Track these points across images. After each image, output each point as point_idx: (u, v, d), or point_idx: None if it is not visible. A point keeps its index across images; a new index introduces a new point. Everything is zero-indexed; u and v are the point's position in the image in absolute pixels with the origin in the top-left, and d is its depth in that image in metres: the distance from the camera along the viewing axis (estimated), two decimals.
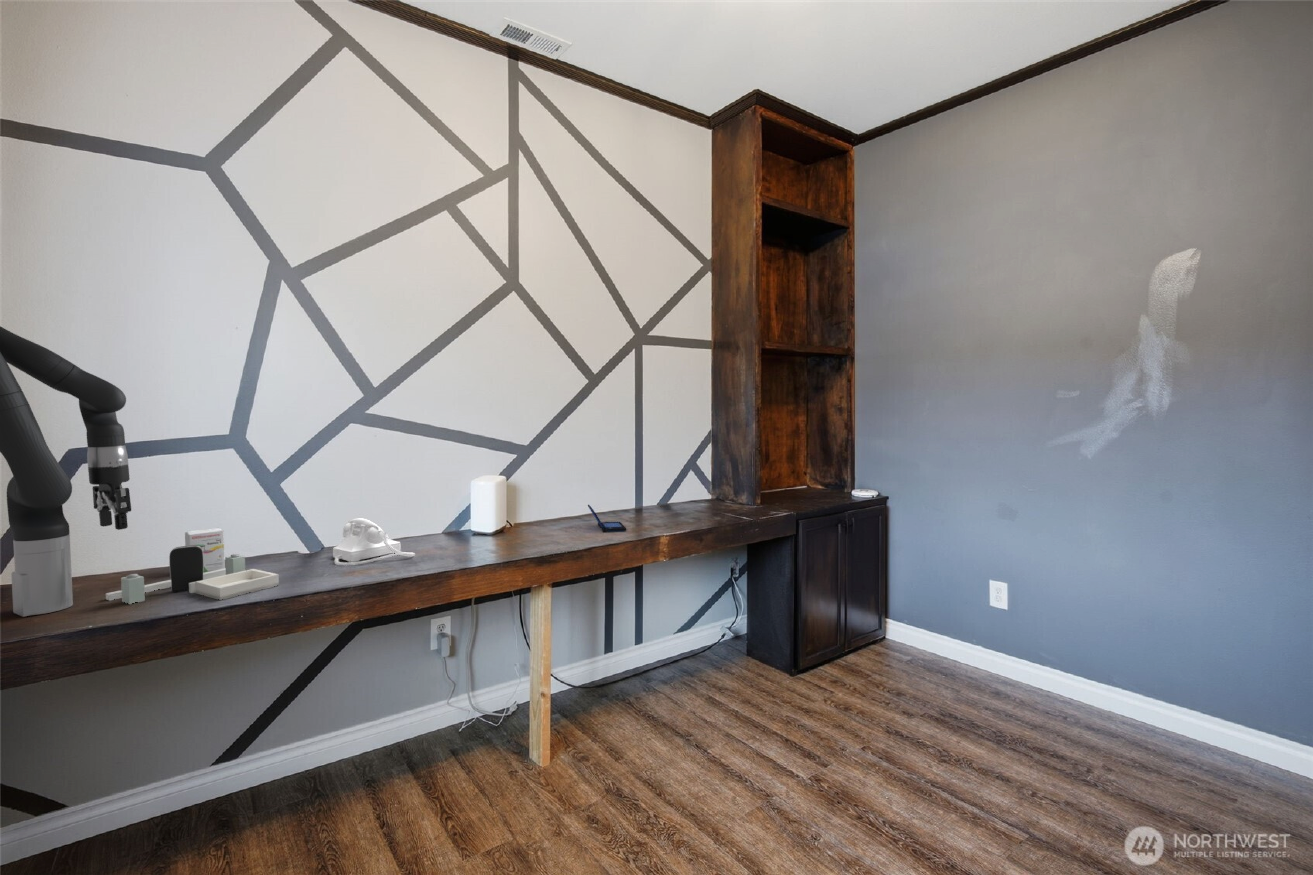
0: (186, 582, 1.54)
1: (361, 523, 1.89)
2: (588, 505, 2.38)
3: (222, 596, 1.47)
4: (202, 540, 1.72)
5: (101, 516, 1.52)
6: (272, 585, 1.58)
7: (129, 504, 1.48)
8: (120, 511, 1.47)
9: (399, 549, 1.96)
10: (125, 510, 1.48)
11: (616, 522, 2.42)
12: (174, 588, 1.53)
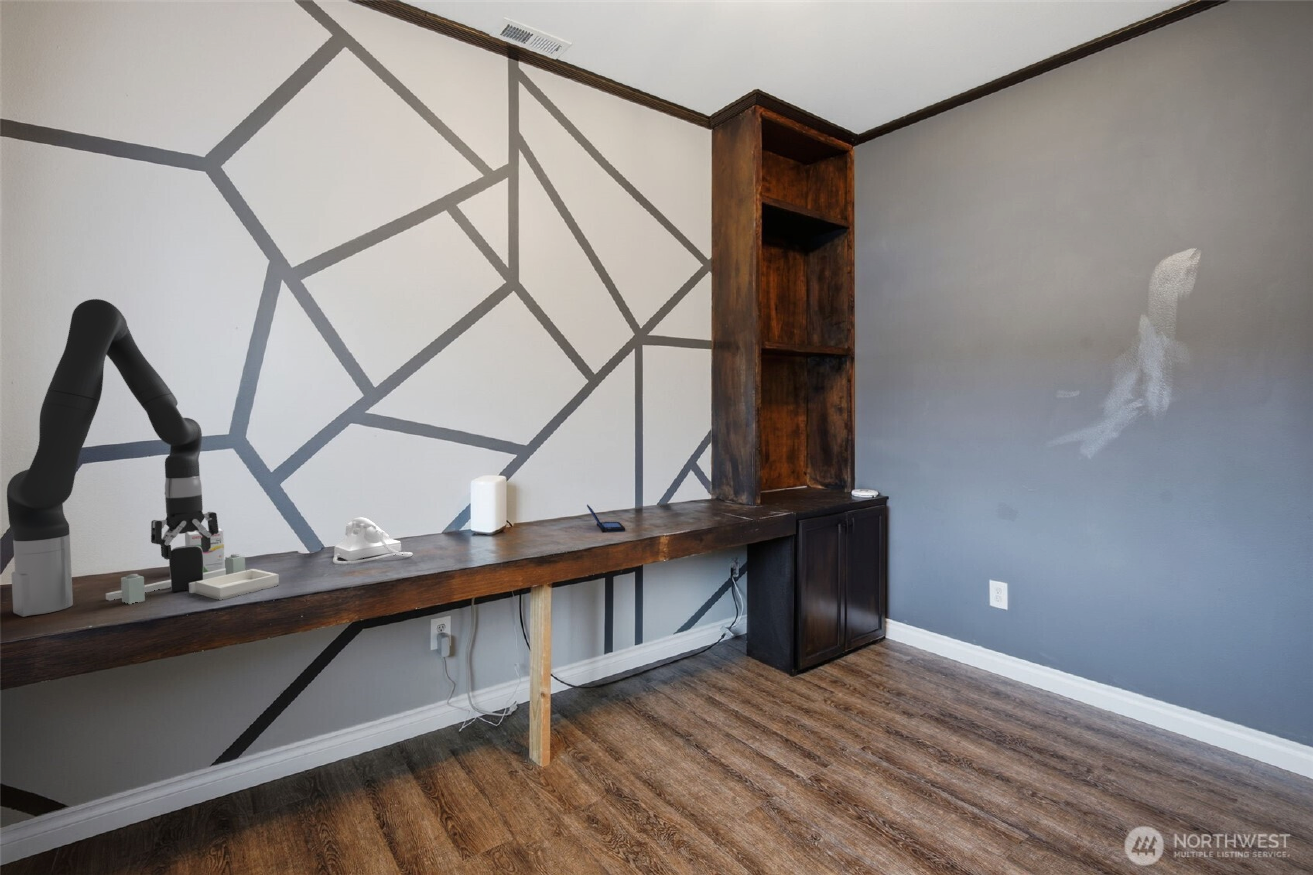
0: (186, 582, 1.54)
1: (361, 522, 1.91)
2: (587, 505, 2.38)
3: (222, 596, 1.47)
4: None
5: None
6: (272, 585, 1.58)
7: None
8: None
9: (399, 549, 1.96)
10: None
11: (615, 522, 2.42)
12: (174, 588, 1.53)
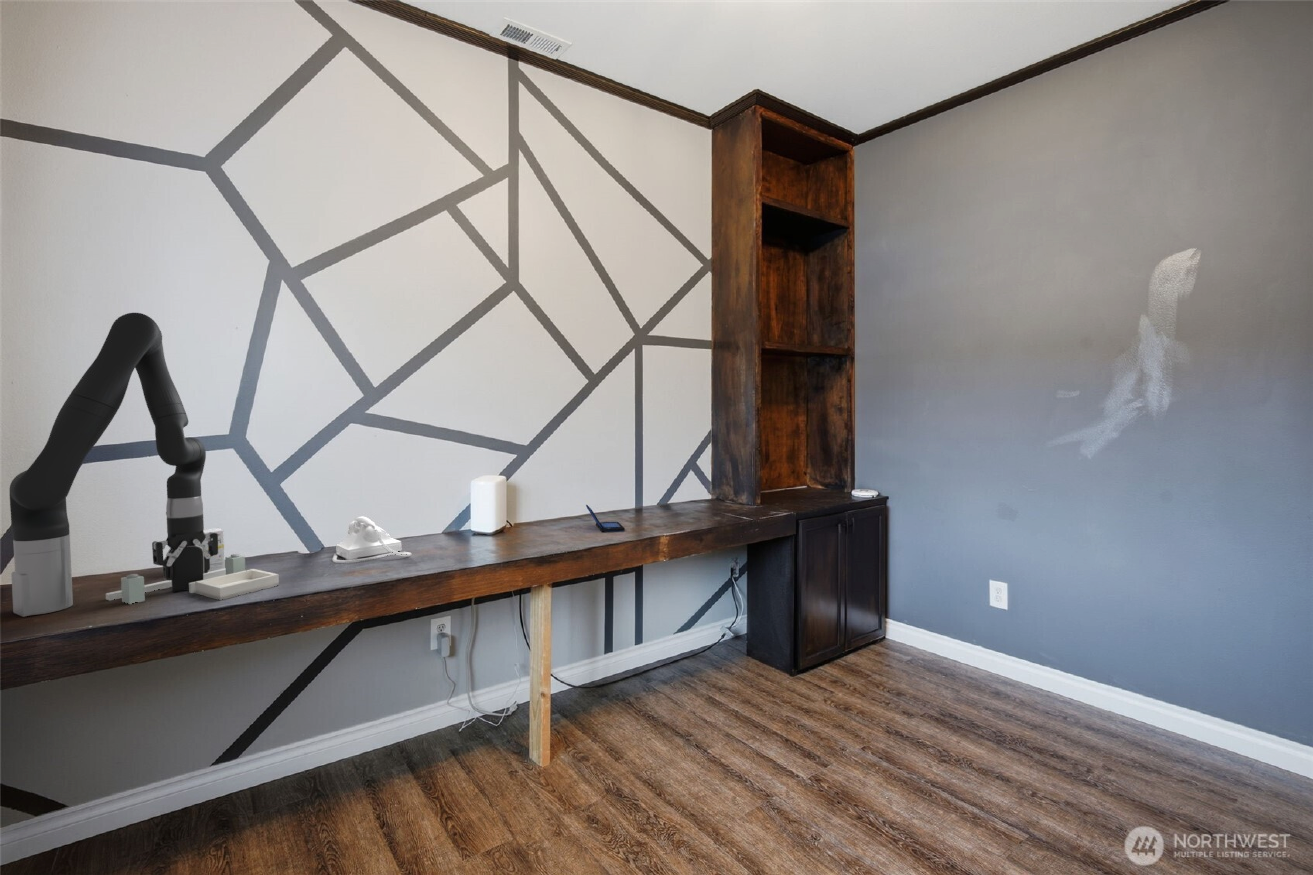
0: (186, 582, 1.54)
1: (361, 521, 1.92)
2: (586, 505, 2.38)
3: (222, 596, 1.47)
4: None
5: None
6: (272, 585, 1.58)
7: None
8: None
9: (399, 548, 1.97)
10: None
11: (614, 522, 2.42)
12: (174, 588, 1.53)
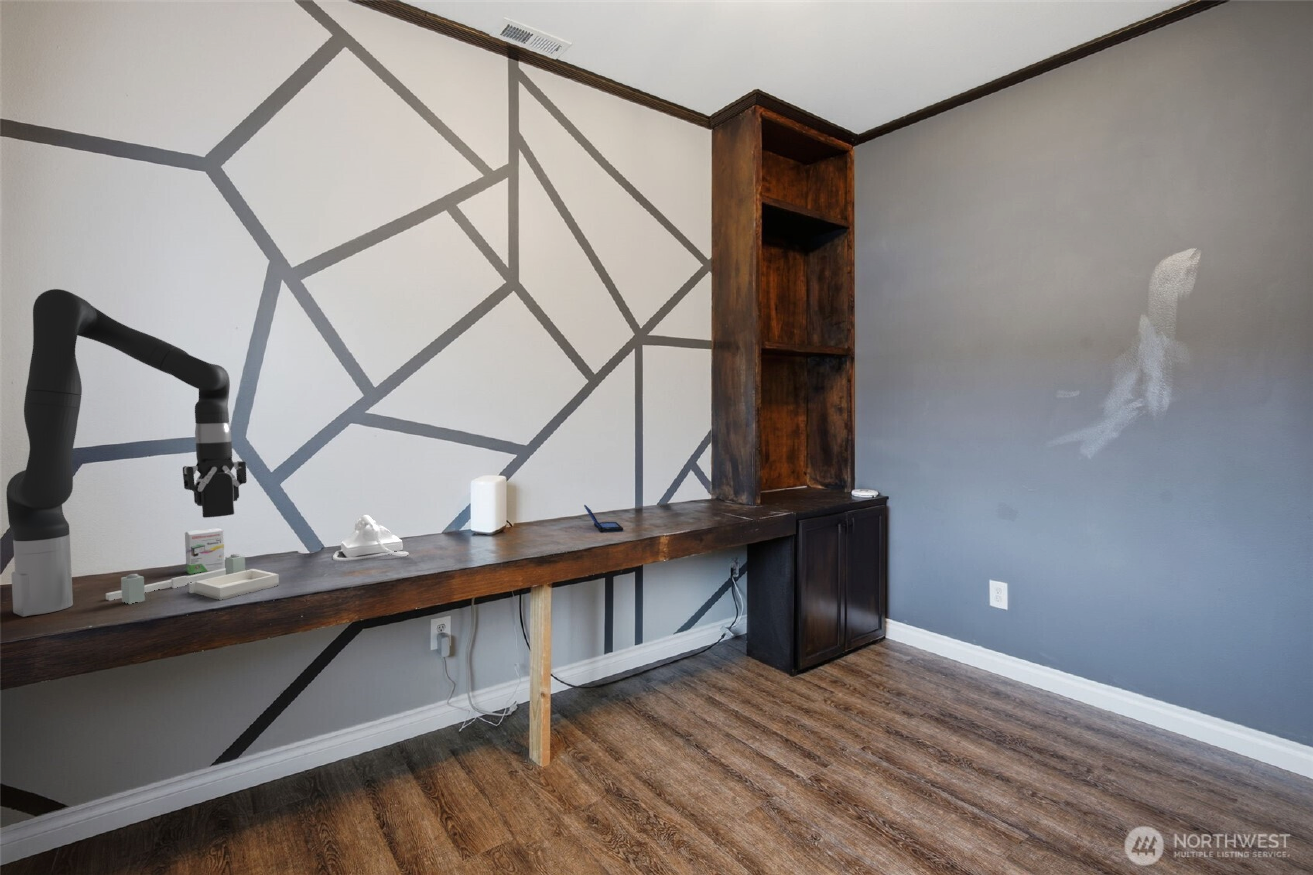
0: (217, 508, 1.54)
1: (363, 520, 1.95)
2: (584, 505, 2.38)
3: (222, 596, 1.47)
4: (202, 540, 1.72)
5: None
6: (272, 585, 1.58)
7: None
8: None
9: (400, 547, 1.98)
10: None
11: (612, 522, 2.42)
12: (205, 514, 1.53)
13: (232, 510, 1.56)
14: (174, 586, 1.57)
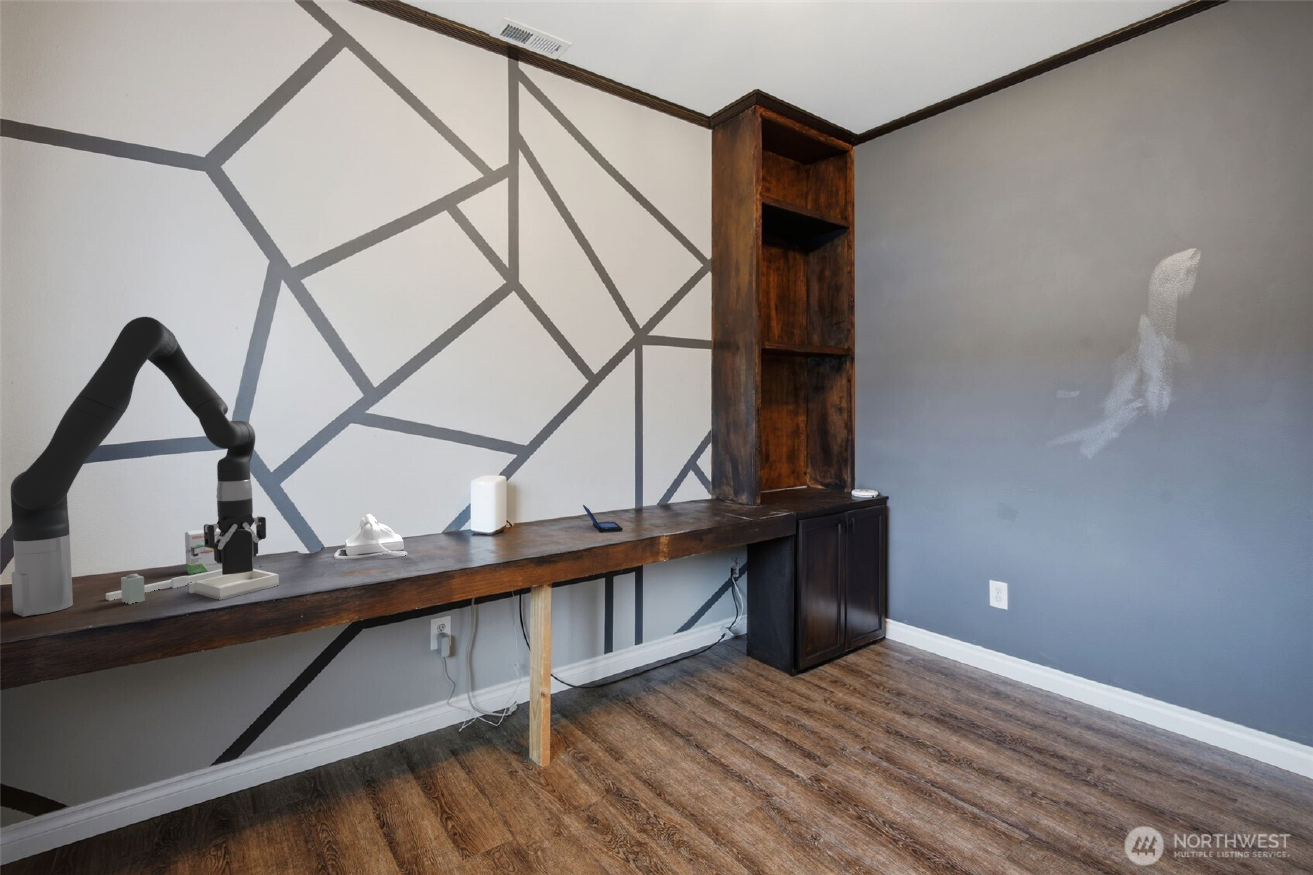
0: (236, 565, 1.54)
1: (365, 519, 1.97)
2: (583, 505, 2.38)
3: (222, 596, 1.47)
4: (202, 540, 1.72)
5: None
6: (272, 585, 1.58)
7: None
8: None
9: (401, 547, 1.99)
10: None
11: (611, 522, 2.42)
12: (225, 571, 1.53)
13: (251, 567, 1.56)
14: (174, 586, 1.57)
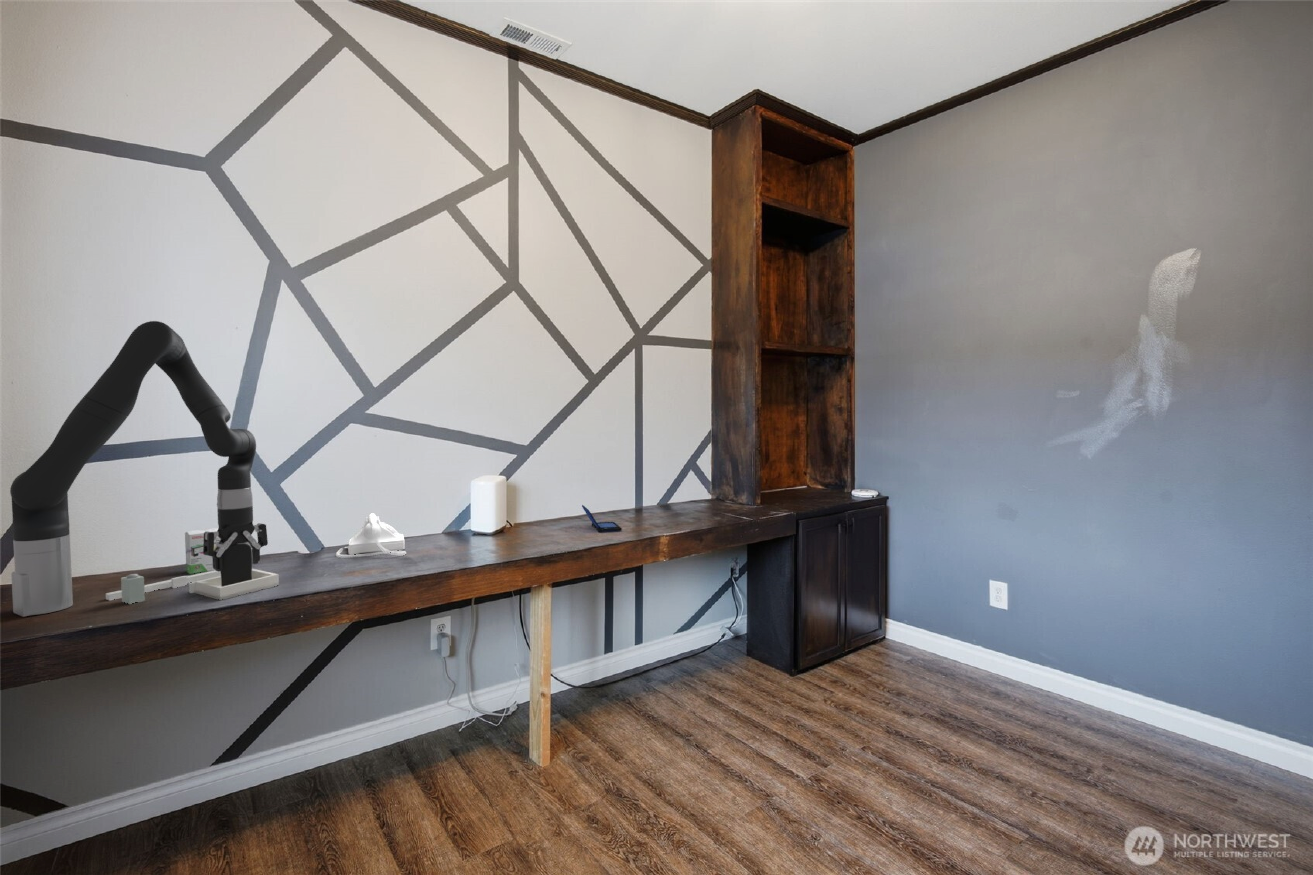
0: (236, 579, 1.54)
1: (368, 518, 1.98)
2: (582, 505, 2.37)
3: (222, 596, 1.47)
4: (202, 540, 1.72)
5: None
6: (272, 585, 1.58)
7: None
8: None
9: (402, 547, 1.99)
10: None
11: (610, 522, 2.42)
12: (224, 585, 1.53)
13: None
14: (174, 586, 1.57)
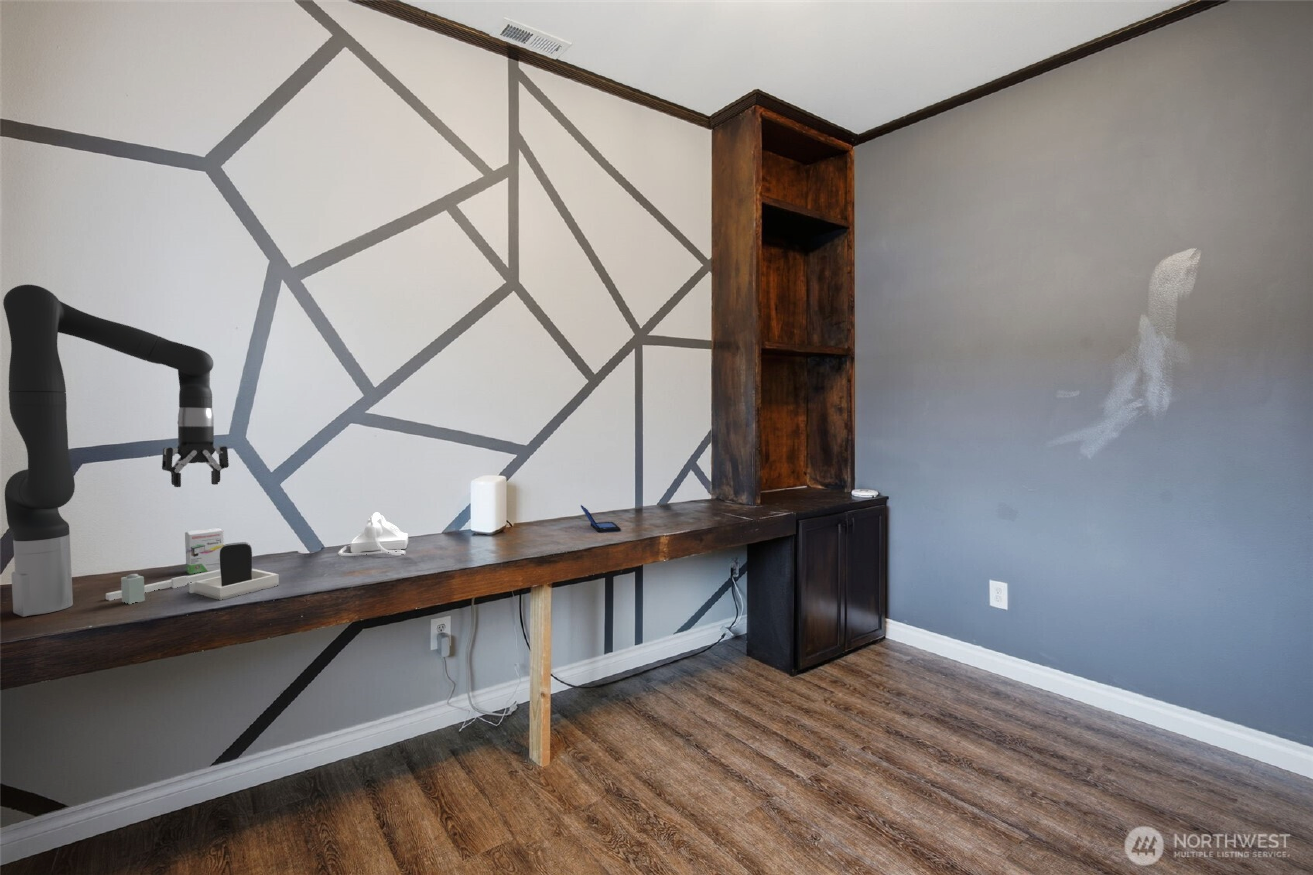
0: (236, 579, 1.54)
1: None
2: (581, 505, 2.37)
3: (222, 596, 1.47)
4: (202, 540, 1.72)
5: None
6: (272, 585, 1.58)
7: None
8: None
9: (403, 546, 2.00)
10: None
11: (609, 522, 2.42)
12: (224, 585, 1.53)
13: None
14: (174, 586, 1.57)
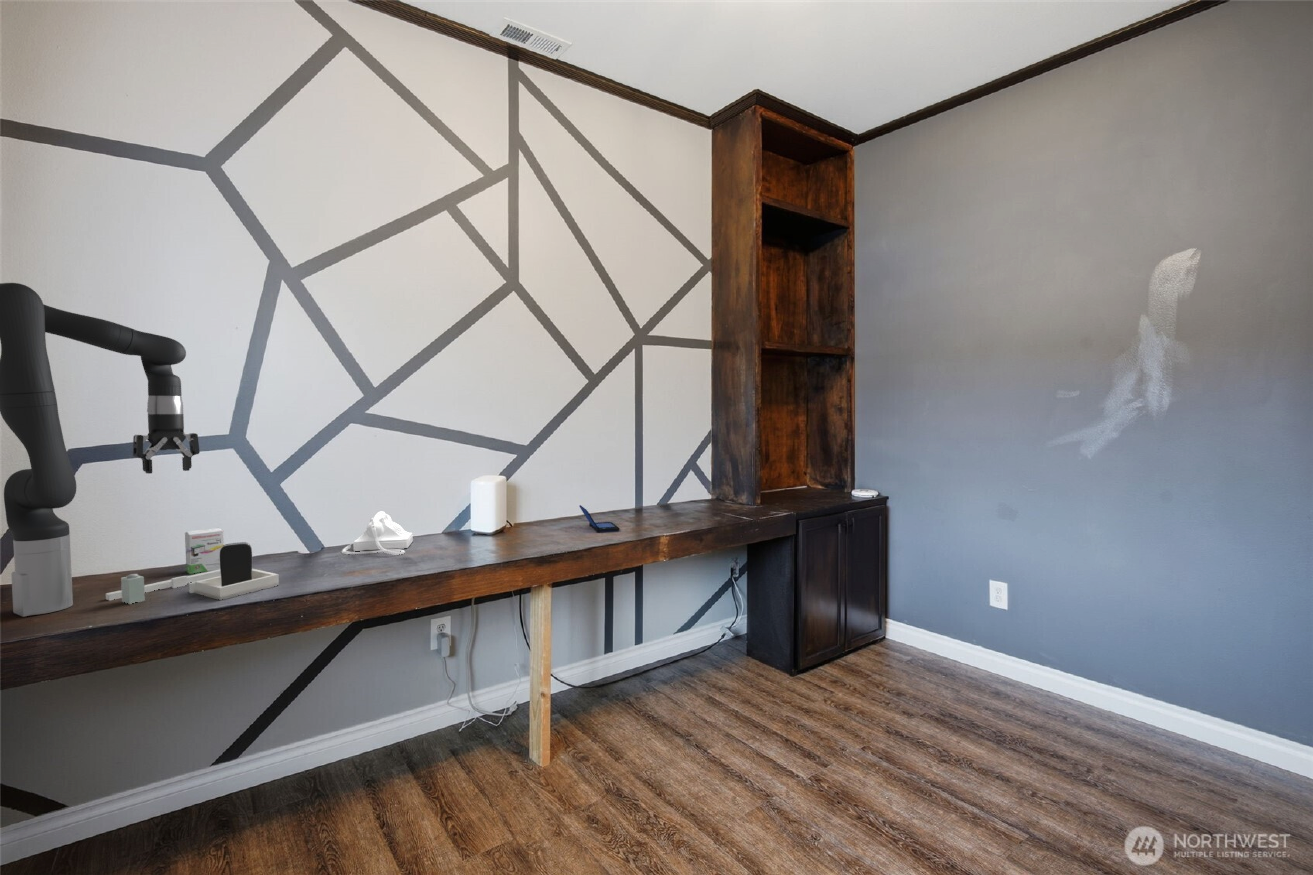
0: (236, 579, 1.54)
1: None
2: (580, 506, 2.37)
3: (222, 596, 1.47)
4: (202, 540, 1.72)
5: None
6: (272, 585, 1.58)
7: None
8: None
9: (405, 546, 2.01)
10: None
11: (608, 522, 2.42)
12: (224, 585, 1.53)
13: None
14: (174, 586, 1.57)
